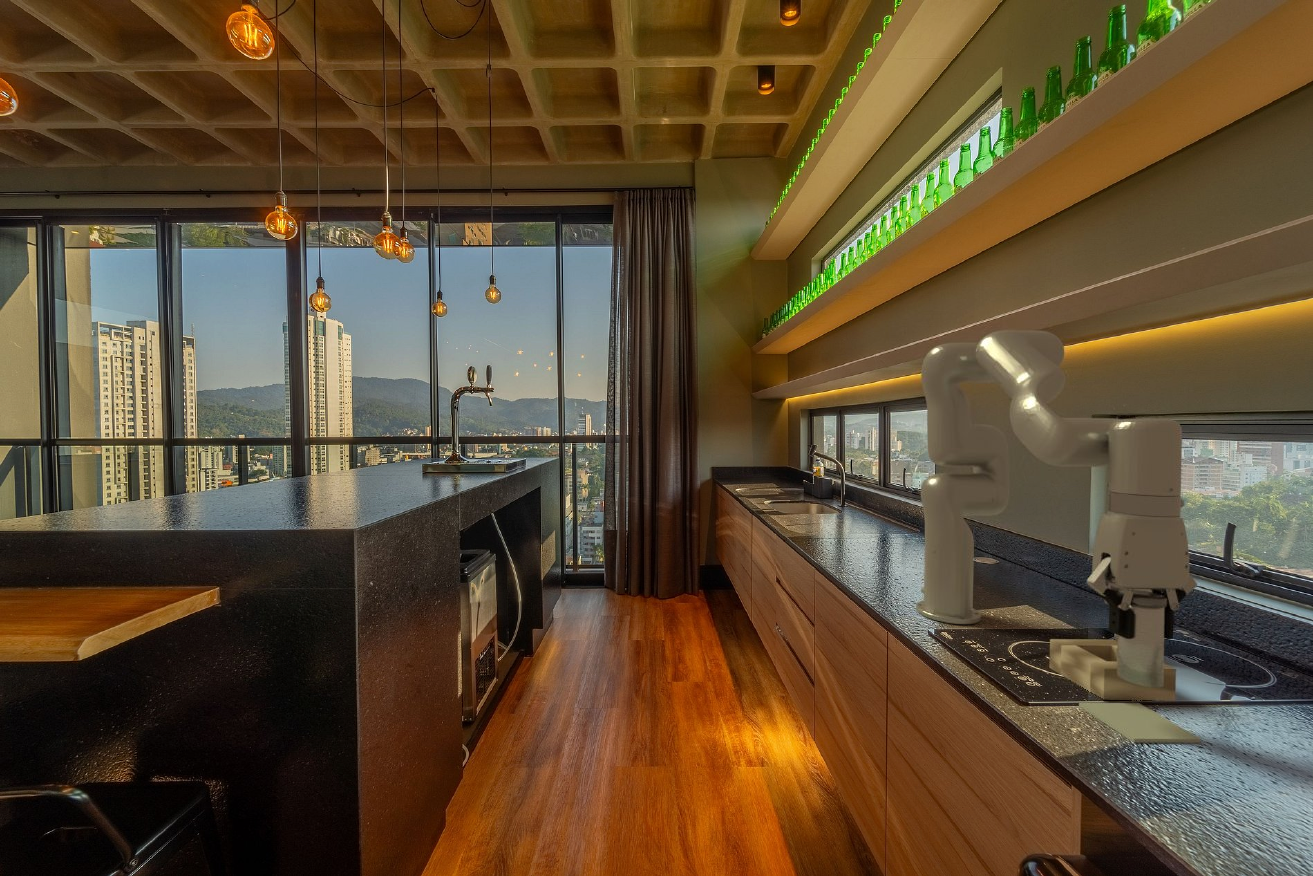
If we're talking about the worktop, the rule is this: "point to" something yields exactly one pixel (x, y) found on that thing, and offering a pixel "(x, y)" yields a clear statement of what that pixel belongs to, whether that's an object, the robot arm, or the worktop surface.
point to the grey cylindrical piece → (1144, 641)
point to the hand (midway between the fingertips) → (1140, 634)
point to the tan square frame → (1103, 670)
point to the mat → (1139, 723)
